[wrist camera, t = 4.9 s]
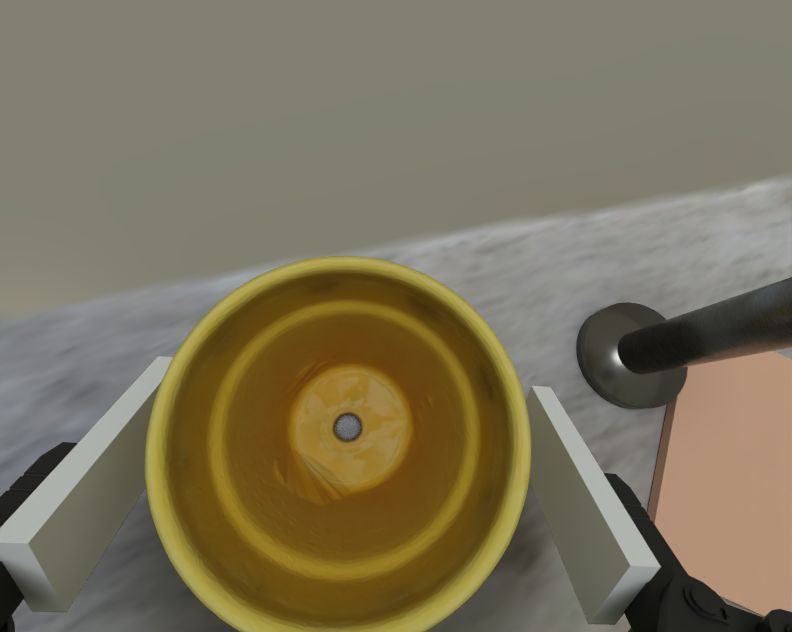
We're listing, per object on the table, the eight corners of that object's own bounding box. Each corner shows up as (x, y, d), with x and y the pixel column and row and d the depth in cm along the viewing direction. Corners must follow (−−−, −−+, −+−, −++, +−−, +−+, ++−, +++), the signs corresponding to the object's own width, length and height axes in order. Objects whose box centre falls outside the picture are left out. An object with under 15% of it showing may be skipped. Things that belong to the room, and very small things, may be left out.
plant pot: (274, 578, 17) (181, 759, 8) (224, 363, 20) (108, 304, 10) (478, 493, 19) (599, 555, 10) (410, 307, 22) (455, 215, 12)
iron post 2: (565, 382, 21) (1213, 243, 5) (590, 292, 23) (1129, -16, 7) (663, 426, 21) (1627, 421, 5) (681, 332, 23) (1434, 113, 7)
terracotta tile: (638, 558, 19) (647, 562, 18) (683, 318, 23) (692, 315, 23) (897, 676, 19) (914, 684, 18) (895, 411, 23) (908, 411, 22)
